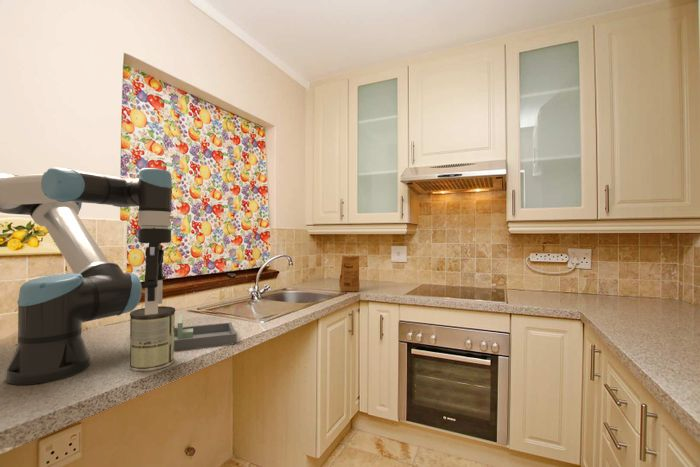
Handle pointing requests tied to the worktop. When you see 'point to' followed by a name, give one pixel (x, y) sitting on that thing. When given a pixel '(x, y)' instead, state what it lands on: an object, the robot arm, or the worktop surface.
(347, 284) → the coffee package
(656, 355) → the worktop surface
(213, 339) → the grey tray
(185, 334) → the pusher
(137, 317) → the coffee can
